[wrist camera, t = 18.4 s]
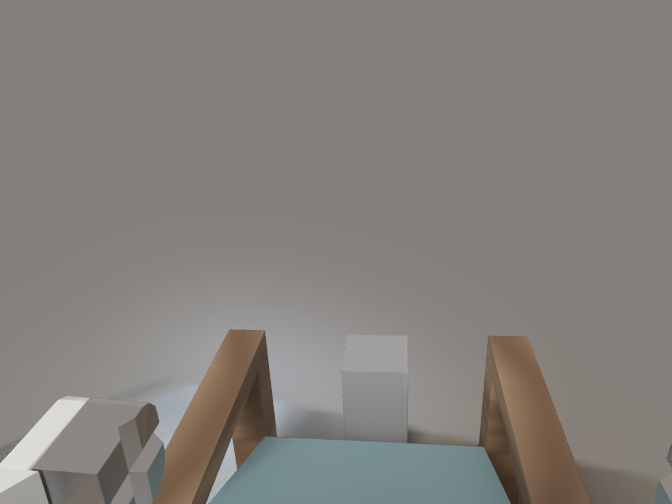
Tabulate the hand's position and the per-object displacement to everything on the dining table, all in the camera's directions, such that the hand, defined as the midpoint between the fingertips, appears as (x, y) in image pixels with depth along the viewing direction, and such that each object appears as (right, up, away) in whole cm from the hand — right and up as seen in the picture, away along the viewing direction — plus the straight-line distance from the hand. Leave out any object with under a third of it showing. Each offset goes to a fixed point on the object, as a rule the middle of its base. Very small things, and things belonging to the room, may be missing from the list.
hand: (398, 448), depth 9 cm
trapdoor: (+1, -10, +20) cm, 22 cm away
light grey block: (+2, -5, +34) cm, 35 cm away
